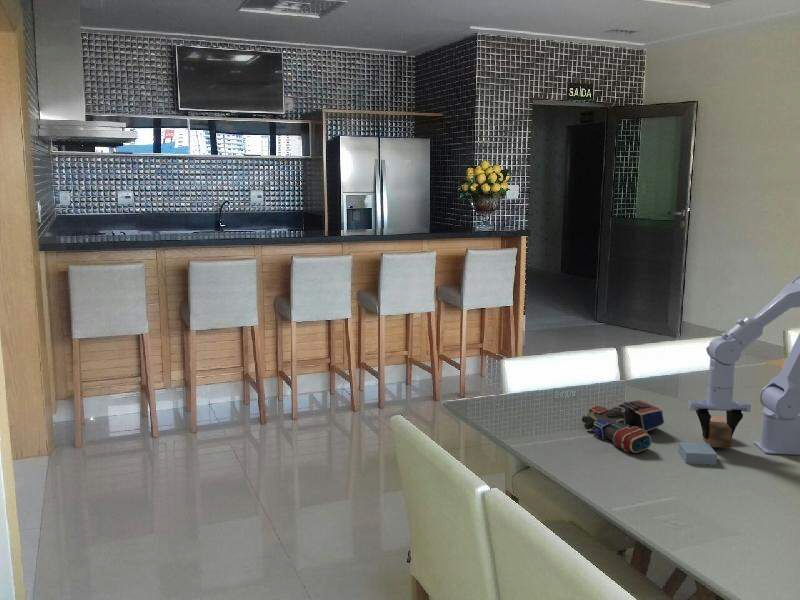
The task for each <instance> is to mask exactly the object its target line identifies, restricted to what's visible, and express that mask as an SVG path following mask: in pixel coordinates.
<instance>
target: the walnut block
mask: <svg viewBox="0 0 800 600" xmlns="http://www.w3.org/2000/svg"><path fill="white" fill-rule="evenodd" d="M731 433H732V428H731V427H730V426H729V425H727V424H726V423H725V422H711V421H710V423H709V436H708V439H705V438H704V437H703V436H702V438H703V442H704V444H709V445H710V446H711V448H727V449H728V448H729V449H730V448H731V446H732V445H731V443H732V441H731Z"/></svg>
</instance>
